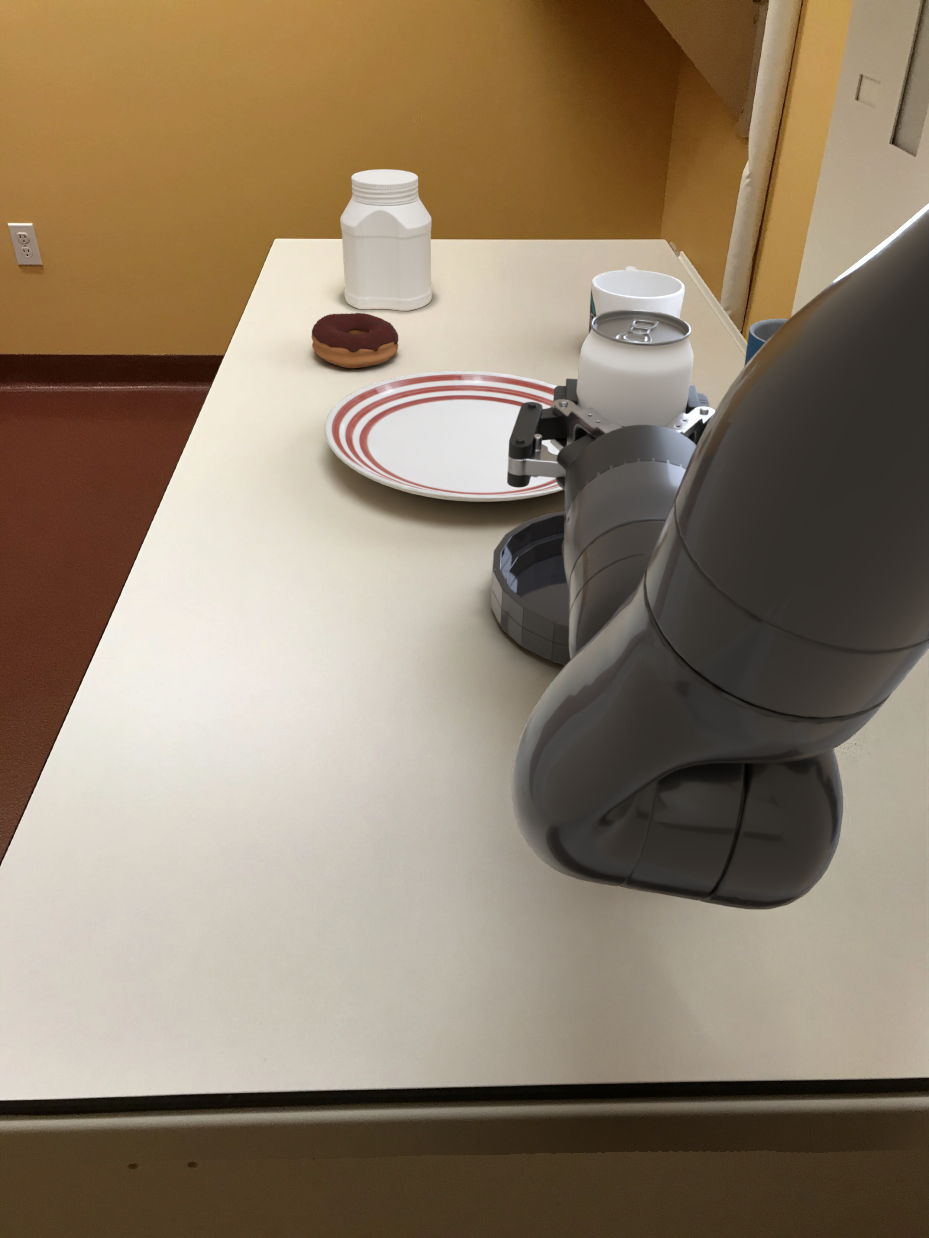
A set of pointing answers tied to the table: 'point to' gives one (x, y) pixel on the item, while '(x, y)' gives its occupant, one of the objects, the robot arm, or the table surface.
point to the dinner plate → (439, 433)
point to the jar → (386, 242)
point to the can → (636, 367)
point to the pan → (533, 587)
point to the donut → (354, 339)
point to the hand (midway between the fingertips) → (627, 396)
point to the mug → (635, 292)
